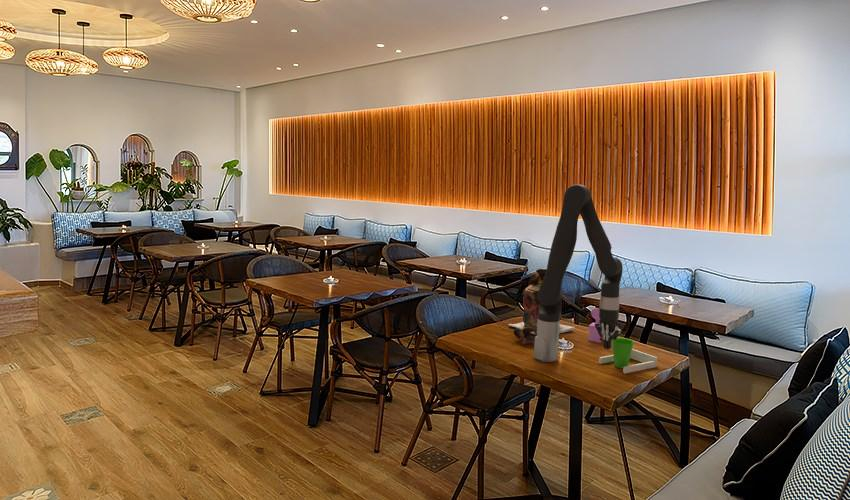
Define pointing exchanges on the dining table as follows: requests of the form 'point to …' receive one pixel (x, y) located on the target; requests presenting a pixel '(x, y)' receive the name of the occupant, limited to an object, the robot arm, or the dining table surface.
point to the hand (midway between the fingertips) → (607, 348)
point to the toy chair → (592, 329)
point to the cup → (622, 351)
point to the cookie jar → (535, 304)
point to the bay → (647, 359)
